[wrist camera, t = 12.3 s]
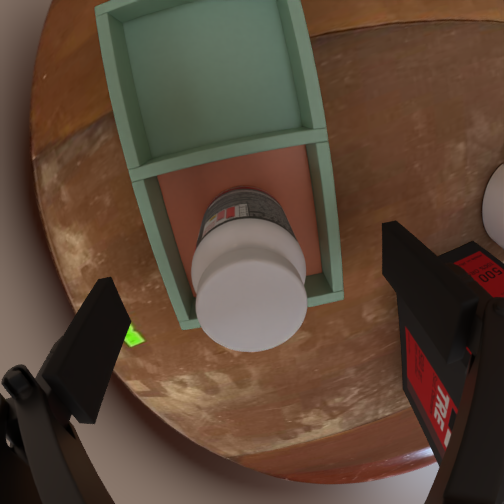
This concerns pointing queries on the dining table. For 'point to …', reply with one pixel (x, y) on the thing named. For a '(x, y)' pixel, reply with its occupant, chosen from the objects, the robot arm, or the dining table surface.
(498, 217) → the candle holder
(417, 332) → the cleaning product box
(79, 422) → the robot arm
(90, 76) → the dining table surface
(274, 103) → the divided tray
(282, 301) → the pill bottle
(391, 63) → the dining table surface
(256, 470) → the dining table surface
